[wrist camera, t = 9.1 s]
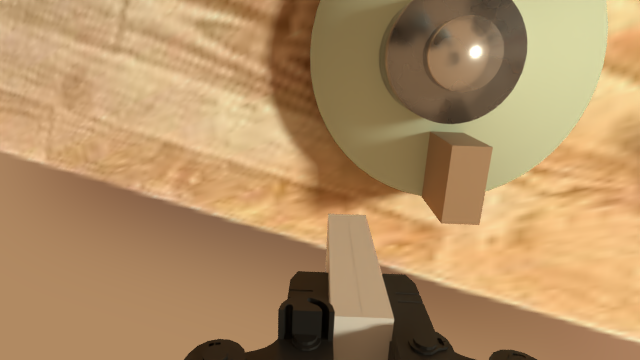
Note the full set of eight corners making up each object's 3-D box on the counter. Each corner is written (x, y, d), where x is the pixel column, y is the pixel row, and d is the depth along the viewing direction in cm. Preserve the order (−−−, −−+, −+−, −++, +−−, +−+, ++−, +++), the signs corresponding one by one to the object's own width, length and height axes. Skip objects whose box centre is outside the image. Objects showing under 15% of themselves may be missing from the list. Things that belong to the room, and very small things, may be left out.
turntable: (306, 183, 31) (302, 217, 24) (316, -108, 25) (313, -171, 18) (553, 194, 31) (617, 230, 24) (620, -94, 25) (729, -152, 18)
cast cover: (371, 109, 27) (382, 120, 22) (388, -15, 25) (405, -36, 19) (482, 120, 27) (520, 134, 22) (509, -2, 25) (559, -19, 20)
